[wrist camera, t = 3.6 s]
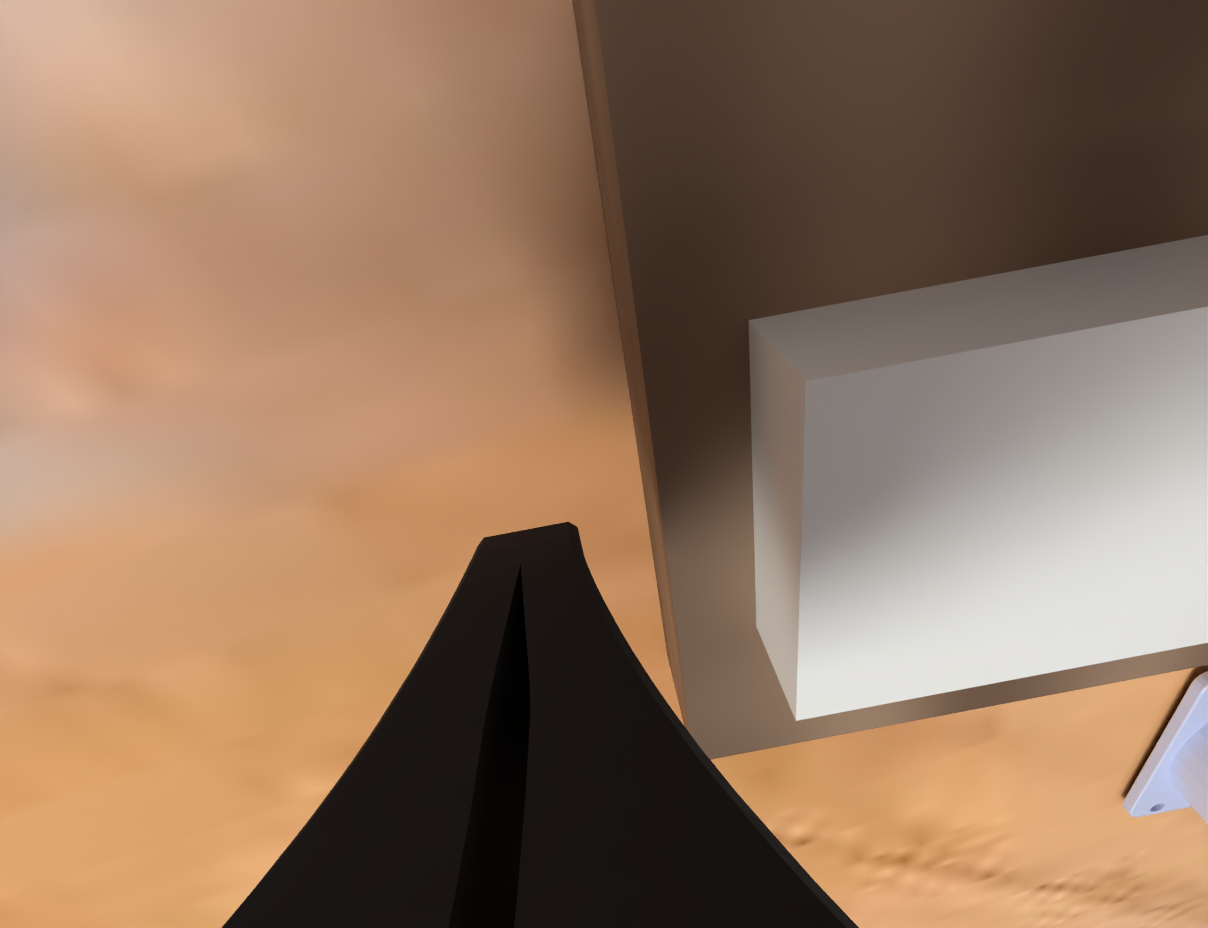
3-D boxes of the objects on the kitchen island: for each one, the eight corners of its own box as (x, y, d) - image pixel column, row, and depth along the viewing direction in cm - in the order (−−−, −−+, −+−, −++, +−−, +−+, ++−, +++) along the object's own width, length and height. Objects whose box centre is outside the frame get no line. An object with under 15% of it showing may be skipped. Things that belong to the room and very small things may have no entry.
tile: (1257, 225, 8) (1444, 262, 7) (1121, 557, 11) (1224, 639, 10) (748, 320, 8) (805, 381, 6) (756, 626, 11) (795, 720, 10)
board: (1540, -179, 9) (1960, -288, 6) (1185, 557, 16) (1308, 645, 14) (572, -2, 9) (589, -39, 6) (667, 655, 16) (693, 762, 14)
